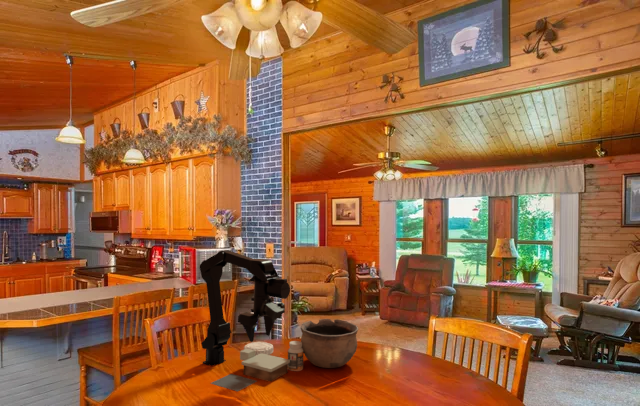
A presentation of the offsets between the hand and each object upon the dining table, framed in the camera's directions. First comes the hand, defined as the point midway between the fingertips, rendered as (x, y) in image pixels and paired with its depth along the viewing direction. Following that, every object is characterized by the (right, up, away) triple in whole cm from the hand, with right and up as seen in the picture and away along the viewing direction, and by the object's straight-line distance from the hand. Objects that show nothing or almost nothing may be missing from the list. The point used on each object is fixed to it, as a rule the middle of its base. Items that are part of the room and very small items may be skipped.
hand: (259, 338), depth 151 cm
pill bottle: (+12, -13, +4) cm, 19 cm away
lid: (+1, -10, 0) cm, 10 cm away
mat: (-7, -12, -9) cm, 17 cm away
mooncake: (-4, -14, +22) cm, 26 cm away
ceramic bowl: (+25, -14, +10) cm, 30 cm away
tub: (+2, -13, -1) cm, 13 cm away
